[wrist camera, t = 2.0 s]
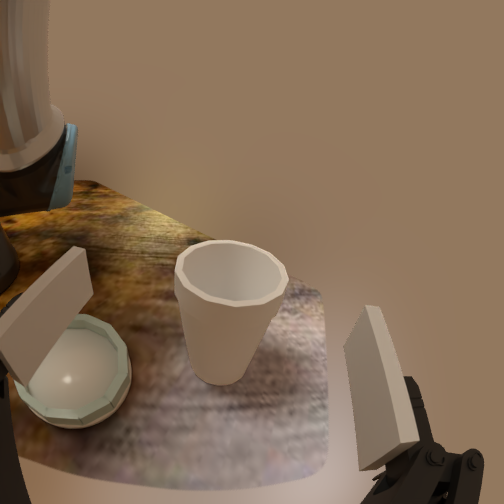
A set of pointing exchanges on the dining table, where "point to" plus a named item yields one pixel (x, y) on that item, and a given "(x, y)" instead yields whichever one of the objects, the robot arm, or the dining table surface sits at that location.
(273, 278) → the foam cup
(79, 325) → the ceramic saucer
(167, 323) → the dining table surface
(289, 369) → the dining table surface
